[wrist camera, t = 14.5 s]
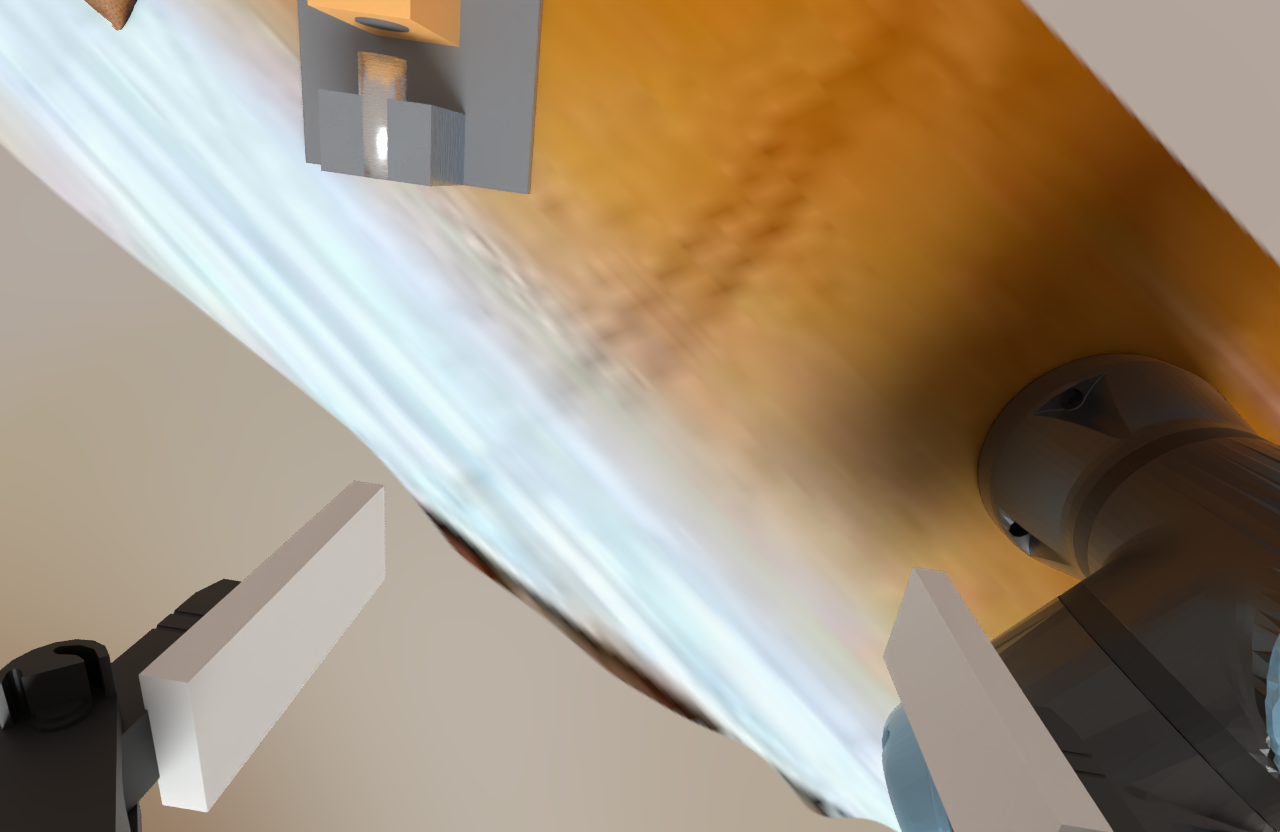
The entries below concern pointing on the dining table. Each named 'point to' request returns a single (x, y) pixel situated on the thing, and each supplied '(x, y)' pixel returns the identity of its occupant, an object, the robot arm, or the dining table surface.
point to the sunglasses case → (114, 10)
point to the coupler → (400, 18)
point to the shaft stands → (389, 129)
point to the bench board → (444, 81)
